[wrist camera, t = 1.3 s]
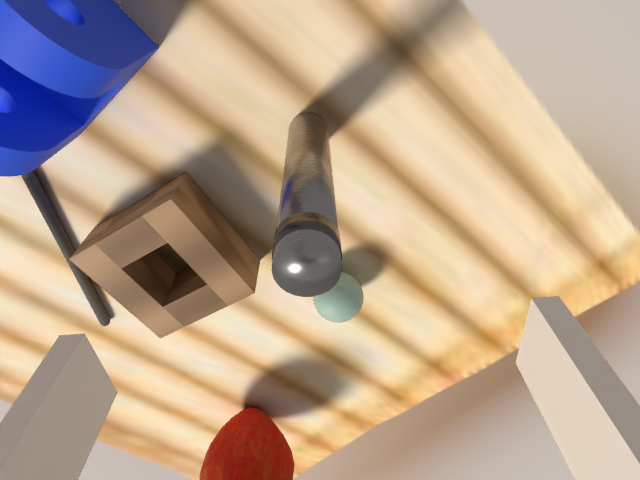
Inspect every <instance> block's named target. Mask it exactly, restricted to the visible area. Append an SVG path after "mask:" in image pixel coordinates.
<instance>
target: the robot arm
mask: <svg viewBox="0 0 640 480" xmlns="http://www.w3.org/2000/svg"><path fill="white" fill-rule="evenodd" d="M516 364H517V366H518V368H519V370H520V372H521V374H522V376H523V378H524V380H525V382H526V383H527V386H528V388H529V390H530V392H531V394H532V396H533V398H534V400H535V402H536V404H537V406H538V407H539V409H540V411H541V413H542V415H543V417H544V419H545V421H546V423H547V425H548V427H549V429H550V431H551V433H552V435H553V437H554V439H555V441H556V443H557V445H558V447H559V449H560V451H561V453H562V455H563V456H564V459H565V461H566V463H567V464H568V467H569V468H570V470H571V472H572V474H573V476H574V478H575V480H640V405H639V404H638V403H637V401H636V400H635V399H634V397H633V396H632V395H631V393H630V392H629V391H628V389H627V388H626V386H625V385H624V384H623V383H622V381H621V380H620V379H619V377H618V376H617V374H616V373H615V372H614V370H613V369H612V368H611V366H610V365H609V364H608V362H607V361H606V359H605V358H604V357H603V355H602V354H601V353H600V351H599V350H598V349H597V347H596V346H595V345H594V343H593V342H592V340H591V339H590V338H589V336H588V335H587V334H586V332H585V331H584V330H583V328H582V327H581V326H580V324H579V323H578V322H577V320H576V319H575V318H574V316H573V315H572V313H571V312H570V311H569V309H568V308H567V307H566V305H565V304H564V303H563V301H562V300H561V299H560V297H559V296H555V297H542V298H531V303H530V307H529V311H528V315H527V319H526V323H525V327H524V331H523V335H522V340H521V344H520V348H519V352H518V356H517V361H516ZM116 394H117V390H116V389H115V387H114V385H113V383H112V382H111V380H110V378H109V376H108V374H107V373H106V371H105V369H104V367H103V366H102V364H101V362H100V360H99V358H98V357H97V355H96V353H95V351H94V350H93V348H92V346H91V344H90V342H89V341H88V339H87V337H86V335H85V334H74V335H61V336H59V337H58V339H57V340H56V342H55V343H54V345H53V346H52V348H51V349H50V350H49V352H48V353H47V355H46V356H45V358H44V359H43V361H42V362H41V364H40V365H39V367H38V368H37V370H36V371H35V373H34V374H33V376H32V377H31V379H30V380H29V381H28V383H27V384H26V386H25V387H24V389H23V390H22V392H21V393H20V395H19V396H18V398H17V399H16V401H15V402H14V404H13V405H12V407H11V408H10V410H9V411H8V413H7V414H6V415H5V417H4V418H3V420H2V421H1V423H0V480H78V478H79V476H80V474H81V472H82V469H83V467H84V465H85V463H86V460H87V458H88V456H89V454H90V451H91V449H92V447H93V445H94V443H95V441H96V438H97V436H98V434H99V432H100V430H101V427H102V425H103V423H104V421H105V419H106V416H107V414H108V412H109V410H110V408H111V405H112V403H113V401H114V399H115V397H116Z"/></svg>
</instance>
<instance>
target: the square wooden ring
mask: <svg viewBox="0 0 640 480" xmlns="http://www.w3.org/2000/svg"><path fill="white" fill-rule="evenodd" d="M166 243H168V244H169V245H170V246H171V247H172V248H173V249H174V250H175V251H176V252H177V253H178V254H179V255H180V256H181V257H182V258H183V259H184V261H185V262H186V263H187V264H188V265H189V266H190V267H188V268H186V269H185V270H183V271H181V272H179V273H176V272H175V271H174V270H173V269H172V268H171V267H170V266H169V265H168V264H167V263H166V262H165V261H164V260H163V259H162V258H161V257H160V256H159V255H158V254H157V253H156V252H155V251H154V250H155V249H157V248H159V247H161V246H163V245H164V244H166ZM69 260H71V261H72V262H73V263H74V264H75V265H76V266H77V267H79V268H80V269H81V270H82V271H83V272H84V273H86V274H87V275H88V276H89V277H90V278H91V279H92V280H94V281H95V282H96V283H97V284H98V285H99V286H100V287H102V288H103V289H104V290H105V291H106V292H107V293H109V294H110V295H111V296H112V297H113V298H114V299H115V300H117V301H118V302H119V303H120V304H121V305H122V306H124V307H125V308H126V309H127V310H128V311H129V312H130V313H132V314H133V315H134V316H135V317H136V318H137V319H139V320H140V321H141V322H142V323H143V324H144V325H145V326H147V327H148V328H149V329H150V330H151V331H152V332H154V333H155V334H156V335H157V336H158V337H159V338H162V337H164V336H166V335H168V334H170V333H173V332H175V331H177V330H179V329H181V328H183V327H185V326H187V325H189V324H191V323H193V322H195V321H198V320H200V319H202V318H204V317H206V316H208V315H210V314H212V313H214V312H216V311H218V310H220V309H223V308H225V307H227V306H229V305H231V304H233V303H235V302H237V301H239V300H241V299H243V298H245V297H248V296H250V295H252V294H254V293H255V288H256V282H257V276H258V270H259V264H260V260H259V258H258V257H257V256H256V255H255V254H254V252H253V251H252V250H251V249H250V248H249V246H248V245H247V244H246V243H245V242H244V240H243V239H242V238H241V237H240V236H239V234H238V233H237V232H236V231H235V230H234V228H233V227H232V226H231V225H230V224H229V222H228V221H227V220H226V219H225V218H224V216H223V215H222V214H221V213H220V212H219V210H218V209H217V208H216V207H215V206H214V204H213V203H212V202H211V201H210V200H209V198H208V197H207V196H206V195H205V194H204V192H203V191H202V190H201V189H200V188H199V186H198V185H197V184H196V183H195V182H194V180H193V179H192V178H191V177H190V176H189V174H188V173H187V172H186V173H184V174H182V175H181V176H179V177H177V178H176V179H174V180H172V181H171V182H169V183H167V184H166V185H164V186H162V187H161V188H159V189H157V190H156V191H154V192H153V193H151V194H149V195H148V196H146V197H144V198H143V199H141V200H139V201H138V202H136V203H134V204H133V205H131V206H129V207H128V208H126V209H124V210H123V211H121V212H119V213H118V214H116V215H115V216H113V217H111V218H110V219H108V220H106V221H105V222H103V223H101V224H100V225H98V226H96V227H95V228H94V229H93V230H92V231H91V232H90V234H89V235H88V236H87V237H86V239H85V240H84V241H83V242H82V244H81V245H80V246H79V247H78V249H77V250H76V251H75V252H74V254H73V255H72V256H71V257H70V259H69Z"/></svg>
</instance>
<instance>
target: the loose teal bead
mask: <svg viewBox="0 0 640 480" xmlns="http://www.w3.org/2000/svg"><path fill="white" fill-rule="evenodd" d="M313 300H314V305H315V307H316V309H317V311H318V312H319V314H320V315H321V316H322V317H324V318H325V319H327V320H329V321H332V322H345V321H348V320H350V319H352V318H353V317H355V316H356V315H357V314H358V312H359V311H360V309H361V307H362V304H363V290H362V288H361V286H360V284H359V282H358V281H357V280H356V279H355V278H354V277H353V276H351V275H349V274H347V273H344V272H342V273H341V277H340V279H339V281H338V282H337V284H336V285H335V286H334V287H333V288H332V289H331V290H329V291H327V292H326V293H323V294H321V295H317V296H313Z"/></svg>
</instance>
